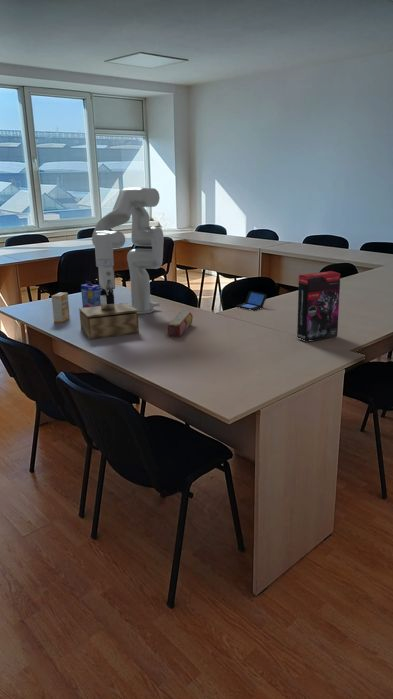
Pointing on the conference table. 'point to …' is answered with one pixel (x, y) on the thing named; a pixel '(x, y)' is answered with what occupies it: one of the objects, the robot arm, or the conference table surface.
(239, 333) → the conference table surface
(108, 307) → the steel weight
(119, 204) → the robot arm
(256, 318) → the conference table surface
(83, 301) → the ink cartridge box
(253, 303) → the handheld game console
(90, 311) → the lid
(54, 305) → the supplement box
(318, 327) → the graphics card box
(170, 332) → the snack package
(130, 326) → the tan wicker box
